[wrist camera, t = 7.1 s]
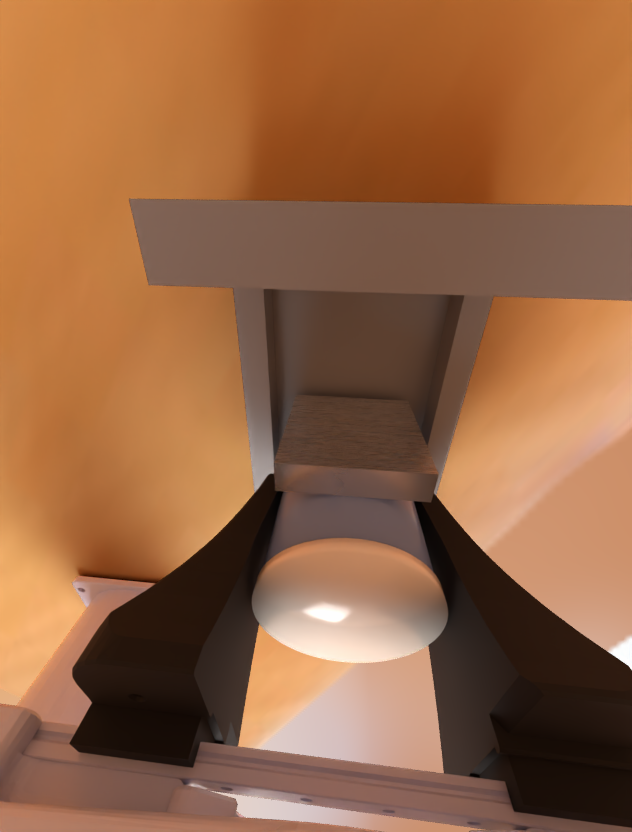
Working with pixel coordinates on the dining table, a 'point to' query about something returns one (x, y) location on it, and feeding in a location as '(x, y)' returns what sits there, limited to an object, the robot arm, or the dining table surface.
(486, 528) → the dining table surface
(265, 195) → the dining table surface
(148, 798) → the robot arm
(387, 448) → the plate
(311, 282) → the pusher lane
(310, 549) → the jar
